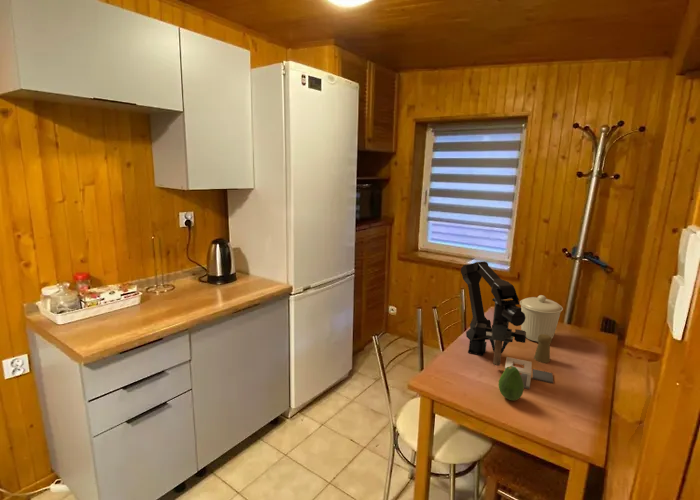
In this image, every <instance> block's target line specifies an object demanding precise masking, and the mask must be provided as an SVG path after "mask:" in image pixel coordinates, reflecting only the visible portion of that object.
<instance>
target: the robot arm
mask: <svg viewBox="0 0 700 500" xmlns="http://www.w3.org/2000/svg"><path fill="white" fill-rule="evenodd" d="M460 268H461V269H460V273H461V277H462V280H463V281H464V283H465V284H466V285H467V290H468V295H469V301H470V307H471V308H470V309H471V313H472V319H471V321H470V322H469V323H470V324H469V326H470V327H469V329H468V330H467V331H466V332H465V335H466V338H467V339H468V340H469V341H468V342H469V343H468V350H467V353H468V354H472V355H478V356H484V355H485V353H486V352H487V341H489V342H490V344H491V348H492V352H493V353H494V350H495V340H499V341H502V350H501V354H503V353H504V351H505V349H506V347H507V345H508V344H509V343H513V340H514V341H515V342H518V343H521V344H525V343H526V340H527V338H526V332H525V331H523V330H522V329H517V328H516V329H514V330H515V331H513V329H512V328H510V327H509V324H511V325H513V326H514V327H519V326H520V327H521V325H522V324H523V323H524V321H525V318H526V317H525V314H524V313H523V312H522V311H521V306H518V305H520V299H519V296H518V294H517V290H516V288H515V287H514V285H513V284H512V283H510V282H509V281H508V280H504V279H503V278H501V277H500V276H499V275H498V274H497V273H496V272H495V271H494V270H493V269H492V268H491V266H489V263H488V262H487V261H484V260H483V261H475V262H473V263H469V264H468V263H467V264H463V265H462V267H460ZM482 279H483V280H484V281H485V282H486V283H487V284H488V285H489V286H490V292H491V294H492V296H493V297H494V298H492V301H493V303H494V309H493V318H492V322H491V321H490V319H487V317H486V316H485V312H484V311H485V310H484V305H483V298H482V292H481V291H482V290H481V285H480V282H481V280H482ZM491 323H492V324H491Z"/></svg>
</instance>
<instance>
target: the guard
mask: <svg viewBox="0 0 700 500" xmlns="http://www.w3.org/2000/svg"><path fill="white" fill-rule="evenodd" d="M514 364H515V365H520V366H523V368H520V367H516V368H517V370H518V371H519V373H522V374H521V378H522V381H523V385H524V389H527V390H530V389H531V388H530V387H531V379H532V372H533V369H532V367H533V366H532V364H533V363H532V361H529V360H525V359H518V358H514V357H509V356H506V360H505V365H504V370H505V369H506V368H507V367H510V366H513V367H515V366H514Z"/></svg>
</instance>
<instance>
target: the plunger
mask: <svg viewBox="0 0 700 500" xmlns="http://www.w3.org/2000/svg"><path fill="white" fill-rule="evenodd" d="M513 366H515V367H520V368H524V366H523V365H520V364H515V365H514V364H513ZM521 374H522V373H520V375H521Z"/></svg>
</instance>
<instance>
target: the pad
mask: <svg viewBox="0 0 700 500" xmlns="http://www.w3.org/2000/svg"><path fill="white" fill-rule="evenodd" d="M532 380H536V381H539V382H544V383H549V384H554V378H553V372H550V371H549V372H548V371H545V370H540V369H534V368H533V369H532Z"/></svg>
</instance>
